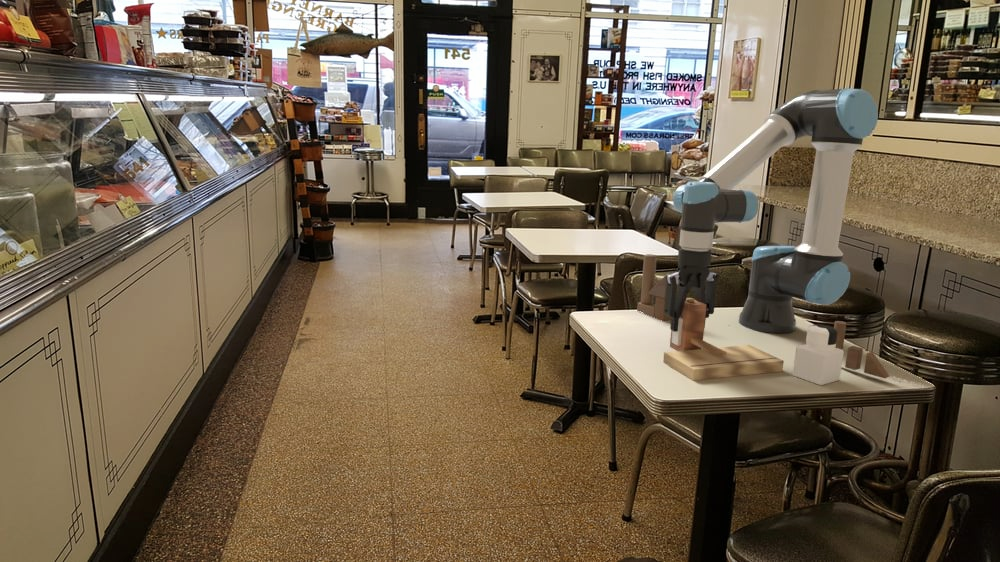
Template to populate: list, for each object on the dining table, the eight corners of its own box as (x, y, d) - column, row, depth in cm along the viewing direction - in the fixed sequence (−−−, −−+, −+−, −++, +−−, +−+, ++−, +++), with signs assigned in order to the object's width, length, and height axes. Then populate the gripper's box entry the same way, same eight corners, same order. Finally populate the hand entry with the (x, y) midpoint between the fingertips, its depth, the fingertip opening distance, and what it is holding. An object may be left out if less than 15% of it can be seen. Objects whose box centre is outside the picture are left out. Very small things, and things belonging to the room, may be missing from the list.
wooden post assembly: (662, 323, 193) (667, 261, 189) (636, 314, 202) (640, 254, 198) (672, 321, 195) (677, 260, 191) (645, 312, 204) (650, 253, 200)
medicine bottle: (810, 370, 158) (817, 320, 155) (840, 380, 152) (847, 328, 149) (791, 375, 154) (798, 324, 152) (821, 386, 148) (828, 333, 146)
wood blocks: (809, 358, 167) (815, 317, 165) (815, 356, 169) (820, 316, 167) (920, 390, 148) (928, 344, 146) (925, 388, 150) (933, 342, 147)
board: (748, 354, 168) (749, 344, 167) (782, 371, 157) (783, 360, 156) (663, 362, 160) (664, 351, 160) (693, 380, 149) (694, 369, 149)
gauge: (687, 345, 169) (692, 295, 167) (730, 368, 154) (736, 313, 151) (669, 346, 168) (674, 296, 165) (711, 370, 152) (717, 314, 149)
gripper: (717, 244, 167) (708, 336, 172) (653, 246, 161) (645, 340, 166) (737, 250, 160) (727, 345, 165) (670, 252, 154) (662, 350, 159)
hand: (686, 342), depth 165 cm, fingers closed on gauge, 5 cm apart
